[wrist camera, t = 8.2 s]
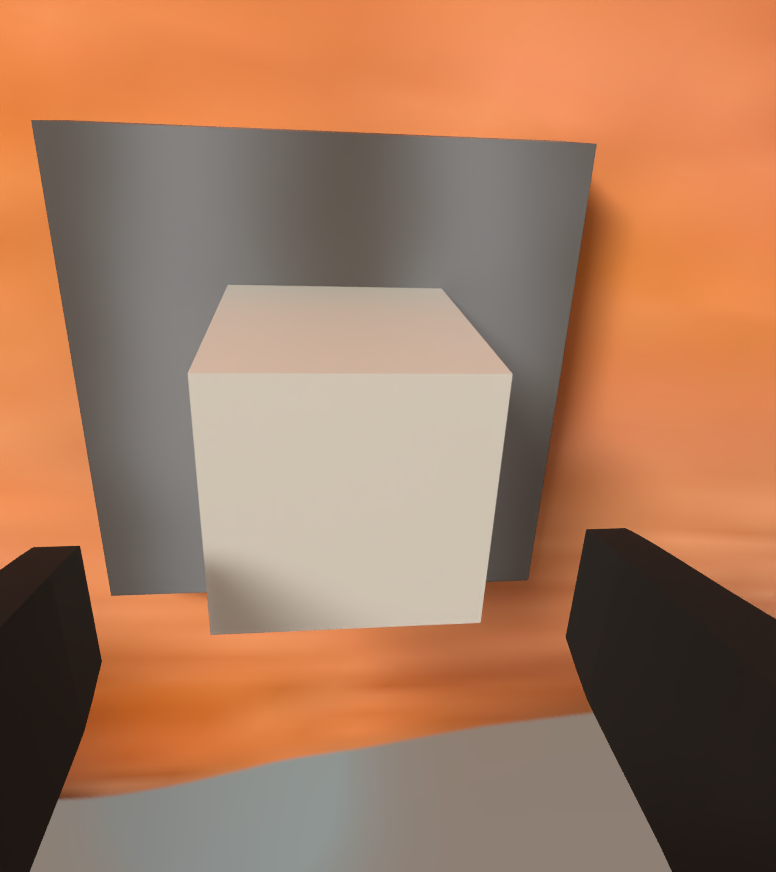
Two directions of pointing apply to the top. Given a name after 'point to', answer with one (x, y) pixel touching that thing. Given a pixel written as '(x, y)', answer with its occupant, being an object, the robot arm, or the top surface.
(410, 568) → the cream block
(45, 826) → the robot arm
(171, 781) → the top surface
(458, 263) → the slate panel
